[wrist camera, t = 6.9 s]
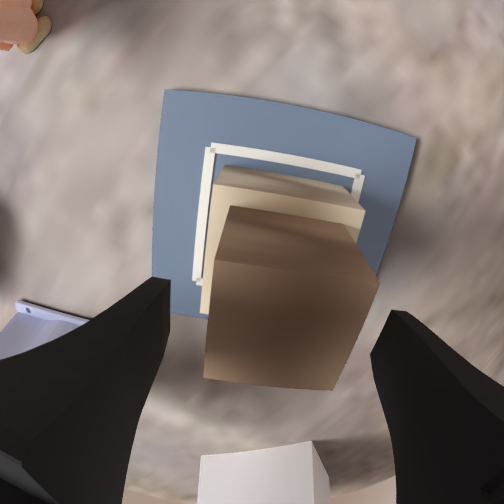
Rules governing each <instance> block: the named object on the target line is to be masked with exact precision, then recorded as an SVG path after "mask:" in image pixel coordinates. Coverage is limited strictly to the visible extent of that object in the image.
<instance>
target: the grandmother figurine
mask: <svg viewBox="0 0 504 504" xmlns="http://www.w3.org/2000/svg"><path fill="white" fill-rule="evenodd" d="M42 6H43V0H0V50H5V51H9V50H10V49H11V48H12V46H13V44H17V46H18V48H19V50H20V51H21V52H23V53H26V54H27V53H30V52H32V51H33V50H34V49H35V48H36V47H37V46H38V45H39V44H40V43H41V41H42V40H43V39H44V38H45V37H46V36H47V35H48V33H49V32H50V30H51V20H50V18H49V17H48V16H42V17H40V18H38V19H37V18H36V16H35V15H36V14H37V13H38V12H39V11H40V10H41V8H42Z"/></svg>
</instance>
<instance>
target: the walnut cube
mask: <svg viewBox="0 0 504 504" xmlns="http://www.w3.org/2000/svg"><path fill="white" fill-rule="evenodd" d="M379 284H380V283H379V281H378V279H377V277H376V276H375V274H374V272H373V271H372V269H371V267H370V266H369V264H368V262H367V261H366V259H365V257H364V256H363V254H362V252H361V251H360V249H359V248H358V246H357V244H356V243H355V241H354V240H353V238H352V236H351V235H350V233H349V232H348V230H347V228H346V227H345V225H344V224H341V223H336V222H330V221H324V220H319V219H313V218H307V217H301V216H295V215H289V214H283V213H277V212H271V211H264V210H258V209H252V208H245V207H238V206H232V205H230V207H229V211H228V214H227V217H226V221H225V224H224V228H223V231H222V234H221V238H220V241H219V245H218V248H217V252H216V255H215V259H214V266H213V275H212V285H211V295H210V305H209V315H208V325H207V336H206V348H205V360H204V372H203V378H209V379H215V380H222V381H229V382H237V383H245V384H253V385H262V386H272V387H283V388H296V389H311V390H333V388H334V386H335V384H336V382H337V380H338V378H339V376H340V374H341V372H342V370H343V368H344V366H345V364H346V362H347V360H348V358H349V356H350V353H351V351H352V349H353V347H354V345H355V342H356V340H357V338H358V336H359V333H360V331H361V329H362V326H363V324H364V322H365V319H366V317H367V315H368V312H369V310H370V307H371V305H372V302H373V300H374V297H375V295H376V292H377V290H378V287H379Z"/></svg>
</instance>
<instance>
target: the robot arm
mask: <svg viewBox="0 0 504 504" xmlns="http://www.w3.org/2000/svg"><path fill="white" fill-rule="evenodd" d="M170 296H171V280H169V279H163V278H158V277H151V278H149V279H148V280H147V281H145V282H144V283H142V284H141V285H140V286H138V287H137V288H136V289H134V290H133V291H132V292H130V293H129V294H128V295H126V296H125V297H123V298H122V299H121V300H119V301H118V302H116V303H115V304H114V305H112V306H111V307H109V308H108V309H106V310H105V311H103V312H102V313H100V314H99V315H97V316H95V317H94V318H92V319H91V320H87V319H83V318H80V317H76V316H72V315H68V314H65V313H61V312H58V311H54V310H51V309H47V308H44V307H41V306H37V305H34V304H31V303H28V302H24V301H21V300H18V301H17V302H16V308H17V313H16V314H15V315H14V317H13V318H12V319H11V320H10V321H9V322H8V323H7V325H6V326H5V327H4V328H3V329H2V330H1V332H0V504H122V497H123V491H124V485H125V479H126V474H127V469H128V464H129V459H130V454H131V450H132V445H133V441H134V437H135V433H136V429H137V425H138V421H139V418H140V415H141V412H142V409H143V407H144V404H145V402H146V399H147V397H148V394H149V391H150V389H151V386H152V384H153V381H154V379H155V376H156V374H157V371H158V369H159V366H160V364H161V361H162V359H163V356H164V352H165V348H166V344H167V340H168V337H169V333H170ZM370 357H371V364H372V370H373V376H374V381H375V384H376V388H377V391H378V394H379V398H380V401H381V404H382V408H383V411H384V414H385V418H386V421H387V425H388V428H389V432H390V436H391V441H392V447H393V454H394V462H395V473H396V490H397V491H396V492H397V494H396V503H397V504H504V386H502V385H500V384H499V383H497V382H496V381H494V380H493V379H491V378H490V377H488V376H487V375H485V374H484V373H482V372H481V371H480V370H478V369H477V368H476V367H474V366H473V365H472V364H470V363H469V362H468V361H467V360H465V359H464V358H463V357H462V356H460V355H459V354H458V353H457V352H456V351H454V350H453V349H452V348H451V347H450V346H449V345H447V344H446V343H445V342H444V341H443V340H442V339H440V338H439V337H438V336H437V335H436V334H435V333H433V332H432V331H431V330H430V329H429V328H428V327H426V326H425V325H424V324H423V323H422V322H420V321H419V320H418V319H417V318H415V317H414V316H412V315H411V314H410V313H408V312H406V311H398V310H391V312H390V314H389V316H388V318H387V321H386V323H385V325H384V327H383V329H382V331H381V333H380V336H379V338H378V340H377V342H376V344H375V346H374V348H373V350H372V352H371V354H370Z"/></svg>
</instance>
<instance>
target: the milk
mask: <svg viewBox="0 0 504 504" xmlns="http://www.w3.org/2000/svg"><path fill="white" fill-rule="evenodd" d="M197 504H330V486H329V476H328V474H327V472H326V470H325V468H324V466H323V464H322V462H321V460H320V458H319V455H318V453H317V451H316V449H315V447H314V445H313V443H312V441H307V442H302V443H297V444H291V445H286V446H280V447H274V448H267V449H260V450H253V451H245V452H236V453H226V454H215V455H201V462H200V474H199V487H198V500H197Z"/></svg>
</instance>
